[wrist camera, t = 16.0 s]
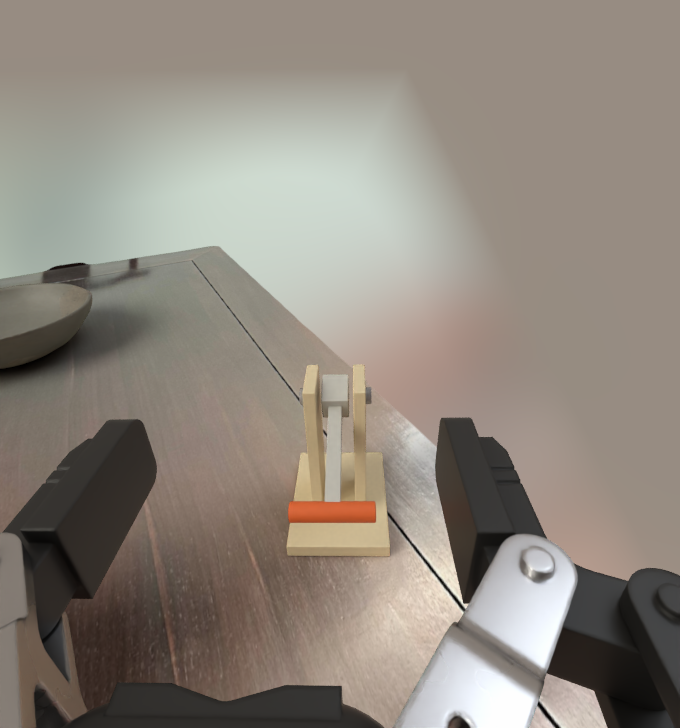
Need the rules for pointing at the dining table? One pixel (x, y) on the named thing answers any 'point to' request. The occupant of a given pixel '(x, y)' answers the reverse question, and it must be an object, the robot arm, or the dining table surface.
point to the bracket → (357, 480)
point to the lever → (333, 466)
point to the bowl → (39, 319)
